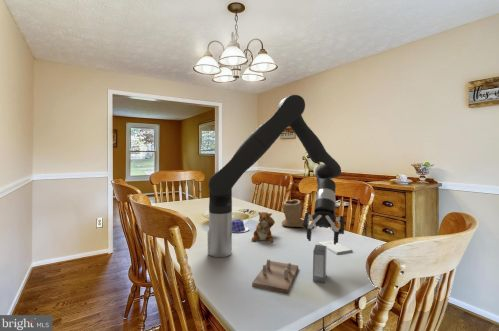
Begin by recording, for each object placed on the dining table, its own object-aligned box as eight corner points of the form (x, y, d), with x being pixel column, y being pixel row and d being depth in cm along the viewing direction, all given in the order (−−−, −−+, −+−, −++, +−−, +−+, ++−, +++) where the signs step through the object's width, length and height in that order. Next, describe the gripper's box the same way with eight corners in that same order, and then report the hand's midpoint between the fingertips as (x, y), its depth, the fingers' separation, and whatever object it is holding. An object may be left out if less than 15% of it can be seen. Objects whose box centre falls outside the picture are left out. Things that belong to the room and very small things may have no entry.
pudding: (237, 225, 143) (237, 216, 142) (253, 230, 135) (253, 220, 134) (221, 230, 134) (221, 220, 134) (237, 235, 126) (237, 225, 126)
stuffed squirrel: (250, 242, 116) (250, 213, 115) (256, 232, 130) (257, 207, 129) (272, 244, 114) (272, 215, 113) (276, 234, 127) (276, 208, 127)
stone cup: (280, 228, 137) (280, 201, 136) (282, 222, 148) (283, 197, 148) (308, 230, 133) (309, 202, 132) (309, 224, 145) (309, 198, 144)
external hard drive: (336, 256, 102) (318, 245, 114) (352, 253, 105) (333, 243, 117) (336, 252, 102) (318, 241, 114) (352, 249, 105) (333, 239, 116)
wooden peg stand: (268, 263, 93) (268, 252, 93) (298, 268, 89) (298, 257, 89) (252, 286, 77) (252, 272, 77) (287, 293, 73) (287, 279, 73)
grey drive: (315, 273, 86) (315, 244, 86) (326, 274, 85) (326, 245, 84) (312, 281, 80) (313, 250, 80) (324, 283, 79) (325, 252, 79)
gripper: (305, 196, 97) (300, 234, 87) (344, 198, 92) (343, 239, 82) (307, 207, 103) (302, 244, 92) (344, 210, 97) (343, 249, 87)
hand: (321, 241), depth 87 cm, fingers open, 8 cm apart
